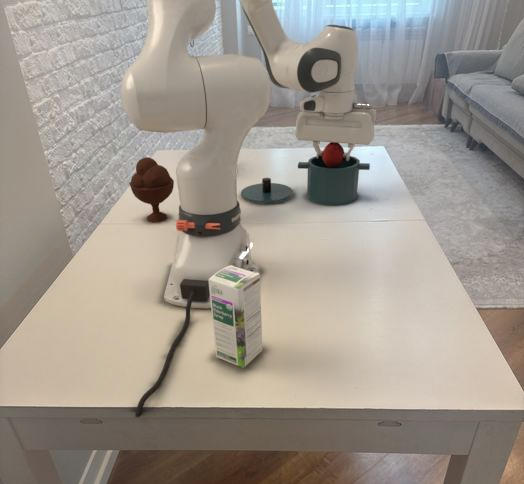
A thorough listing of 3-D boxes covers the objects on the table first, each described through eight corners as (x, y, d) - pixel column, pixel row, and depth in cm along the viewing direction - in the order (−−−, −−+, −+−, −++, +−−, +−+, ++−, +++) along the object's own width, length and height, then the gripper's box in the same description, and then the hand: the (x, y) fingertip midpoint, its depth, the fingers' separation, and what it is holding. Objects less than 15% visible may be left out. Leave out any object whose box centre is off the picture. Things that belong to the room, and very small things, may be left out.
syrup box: (214, 357, 80) (205, 278, 71) (236, 339, 83) (230, 262, 75) (243, 369, 77) (237, 289, 68) (264, 350, 81) (261, 271, 72)
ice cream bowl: (128, 225, 125) (116, 164, 115) (149, 209, 133) (139, 151, 124) (166, 229, 122) (156, 167, 113) (185, 212, 130) (177, 153, 121)
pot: (366, 206, 130) (370, 170, 124) (295, 204, 133) (295, 168, 127) (366, 189, 140) (369, 154, 135) (300, 187, 143) (300, 153, 137)
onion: (344, 167, 134) (347, 136, 129) (341, 173, 129) (343, 141, 125) (323, 165, 135) (325, 135, 130) (319, 172, 131) (321, 140, 126)
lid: (289, 206, 132) (289, 188, 129) (236, 204, 134) (235, 187, 131) (295, 187, 143) (295, 171, 140) (246, 186, 145) (245, 170, 142)
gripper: (380, 101, 121) (373, 159, 130) (301, 98, 128) (300, 153, 136) (375, 106, 117) (369, 166, 125) (293, 103, 123) (293, 159, 131)
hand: (332, 159), depth 131 cm, fingers closed on onion, 6 cm apart
